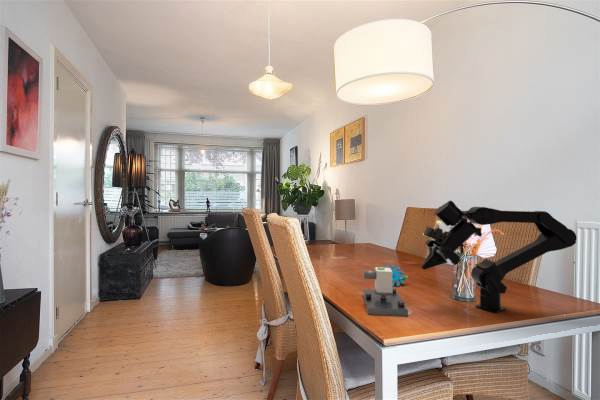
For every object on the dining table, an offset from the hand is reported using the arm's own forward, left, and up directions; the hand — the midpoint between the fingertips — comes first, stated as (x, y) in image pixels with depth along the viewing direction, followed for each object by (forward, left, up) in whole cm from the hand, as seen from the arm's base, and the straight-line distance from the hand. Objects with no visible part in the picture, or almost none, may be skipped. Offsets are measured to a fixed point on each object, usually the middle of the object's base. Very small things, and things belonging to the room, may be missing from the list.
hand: (422, 268), depth 105 cm
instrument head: (+12, -9, -9) cm, 17 cm away
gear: (-12, -24, -13) cm, 29 cm away
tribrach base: (+10, -8, -13) cm, 18 cm away
